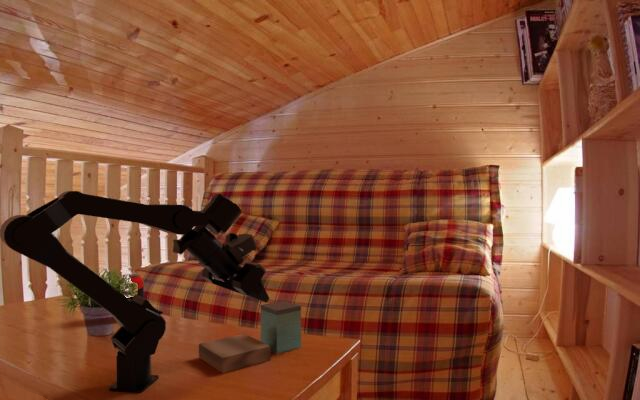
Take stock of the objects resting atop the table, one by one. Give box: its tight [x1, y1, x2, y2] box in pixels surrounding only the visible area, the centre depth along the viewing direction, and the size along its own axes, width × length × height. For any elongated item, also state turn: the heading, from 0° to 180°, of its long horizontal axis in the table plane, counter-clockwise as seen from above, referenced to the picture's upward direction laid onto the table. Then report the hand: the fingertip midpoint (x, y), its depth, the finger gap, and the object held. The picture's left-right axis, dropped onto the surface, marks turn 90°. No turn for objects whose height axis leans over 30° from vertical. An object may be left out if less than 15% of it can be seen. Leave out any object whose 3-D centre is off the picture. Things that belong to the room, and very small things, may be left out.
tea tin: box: [260, 300, 302, 355], centre depth 105 cm, size 7×7×10 cm
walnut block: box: [198, 333, 271, 374], centre depth 97 cm, size 11×11×3 cm
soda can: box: [128, 273, 145, 300], centre depth 130 cm, size 8×8×12 cm
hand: (256, 296), depth 101 cm, fingers open, 9 cm apart
